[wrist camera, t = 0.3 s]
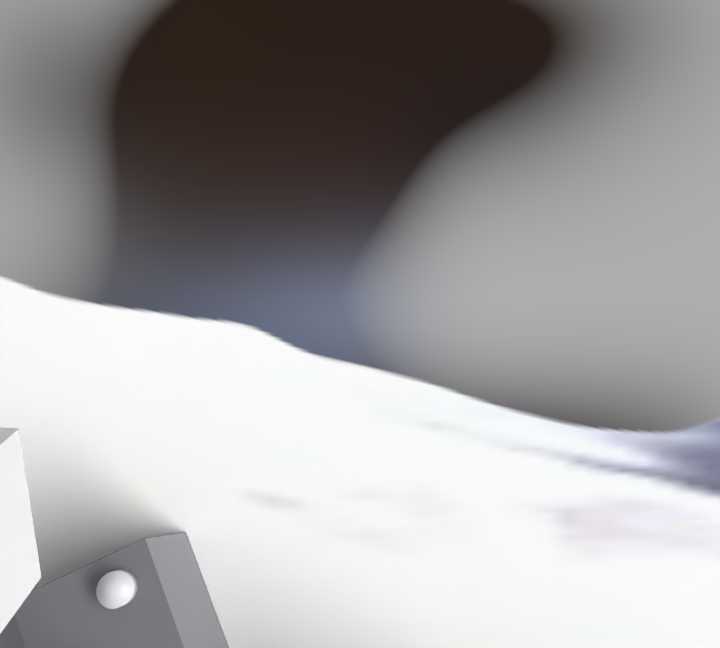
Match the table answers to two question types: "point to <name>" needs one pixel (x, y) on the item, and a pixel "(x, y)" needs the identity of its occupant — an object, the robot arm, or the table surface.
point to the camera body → (123, 603)
